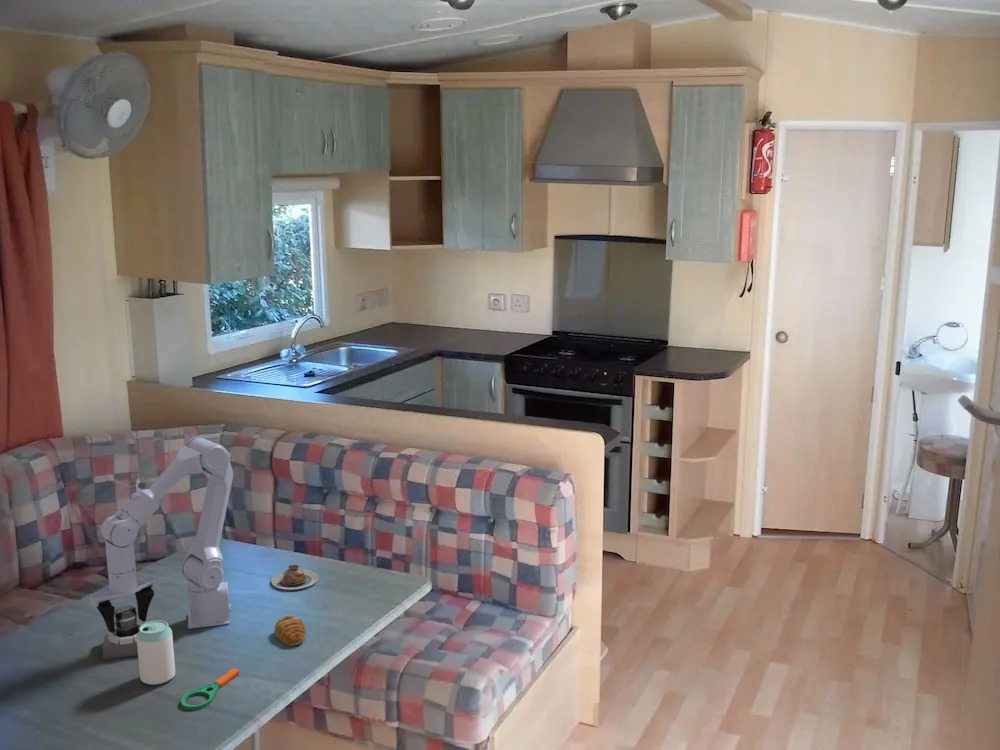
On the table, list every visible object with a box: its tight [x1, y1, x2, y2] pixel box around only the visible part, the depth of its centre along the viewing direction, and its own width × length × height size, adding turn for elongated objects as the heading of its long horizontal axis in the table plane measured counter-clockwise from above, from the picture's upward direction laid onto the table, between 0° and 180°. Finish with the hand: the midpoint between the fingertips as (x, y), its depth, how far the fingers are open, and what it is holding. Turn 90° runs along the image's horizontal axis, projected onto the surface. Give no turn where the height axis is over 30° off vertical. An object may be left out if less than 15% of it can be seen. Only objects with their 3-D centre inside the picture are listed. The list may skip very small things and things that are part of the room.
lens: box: [114, 605, 138, 637], centre depth 217 cm, size 5×5×6 cm
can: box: [137, 620, 176, 686], centre depth 204 cm, size 7×7×12 cm
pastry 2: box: [270, 564, 319, 592], centre depth 251 cm, size 12×12×5 cm
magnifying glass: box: [180, 667, 240, 711], centre depth 201 cm, size 15×6×2 cm, turn 155°
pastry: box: [274, 615, 307, 647], centre depth 222 cm, size 9×7×4 cm
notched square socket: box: [101, 621, 144, 660], centre depth 218 cm, size 10×8×4 cm
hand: (127, 625), depth 217 cm, fingers open, 7 cm apart
